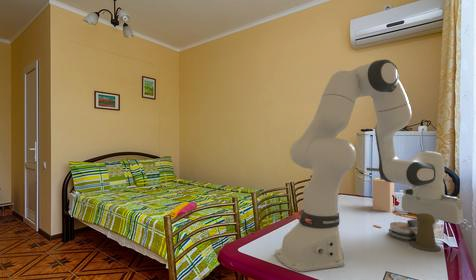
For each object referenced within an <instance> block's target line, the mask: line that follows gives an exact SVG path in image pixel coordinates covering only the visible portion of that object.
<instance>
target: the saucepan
mask: <svg viewBox="0 0 476 280" xmlns="http://www.w3.org/2000/svg"><path fill="white" fill-rule="evenodd" d="M418 223H419V222H418V221H417V218H414V219H409V220H407V222H403V221H402V222H401V221H394V222H392V221H391V222H390V223H389V225H390V226H389V229H390V230H391V231H392V232H394V233H396V234H399V235H404V236H417V230H418Z"/></svg>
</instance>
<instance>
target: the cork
mask: <svg viewBox="0 0 476 280" xmlns="http://www.w3.org/2000/svg"><path fill="white" fill-rule="evenodd" d="M416 219H417V221H418V222H419V223H418V230H417V236H416V244H417V245H418V246H421V247H425V248H436V245H437V244H436V238H435V232H434V230H433V224H434V221H435V219H434V217H433V216H432V215H430V214H425V213H420V214H416Z"/></svg>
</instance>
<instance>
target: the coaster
mask: <svg viewBox="0 0 476 280" xmlns="http://www.w3.org/2000/svg"><path fill="white" fill-rule="evenodd" d="M409 245H410V246H411V247H413V248H415V249H417V250H420V251H424V252H425V251H426V252H431V253H432V252H434V253H435V252H437V253H438V252H440V251H442V248H441V246H439V245H438V244H436V248H425V247H421V246H418V245H417V244H416V241H410V242H409Z"/></svg>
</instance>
